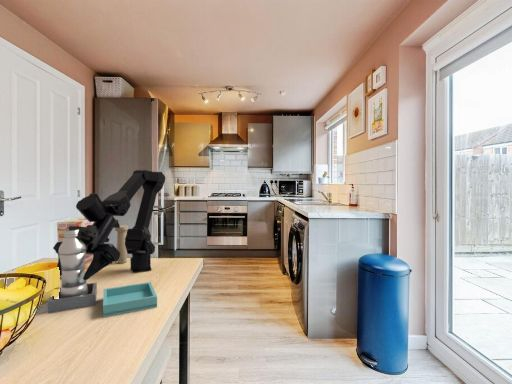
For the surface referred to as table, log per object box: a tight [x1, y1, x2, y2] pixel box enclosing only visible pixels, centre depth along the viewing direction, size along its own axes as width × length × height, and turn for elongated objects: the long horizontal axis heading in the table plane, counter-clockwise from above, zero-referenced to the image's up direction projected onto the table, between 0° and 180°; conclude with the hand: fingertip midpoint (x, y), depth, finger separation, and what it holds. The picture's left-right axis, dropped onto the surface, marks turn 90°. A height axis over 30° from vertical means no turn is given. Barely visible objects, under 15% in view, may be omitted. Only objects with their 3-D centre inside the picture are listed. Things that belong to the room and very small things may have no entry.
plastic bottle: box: [58, 229, 88, 298], centre depth 81 cm, size 6×7×20 cm
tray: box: [102, 281, 158, 318], centre depth 80 cm, size 13×13×3 cm
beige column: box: [114, 224, 129, 264], centre depth 120 cm, size 5×6×15 cm
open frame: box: [46, 281, 98, 314], centre depth 81 cm, size 11×11×3 cm
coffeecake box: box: [56, 216, 94, 279], centre depth 108 cm, size 15×7×20 cm, turn 5°
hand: (70, 278), depth 80 cm, fingers open, 9 cm apart
